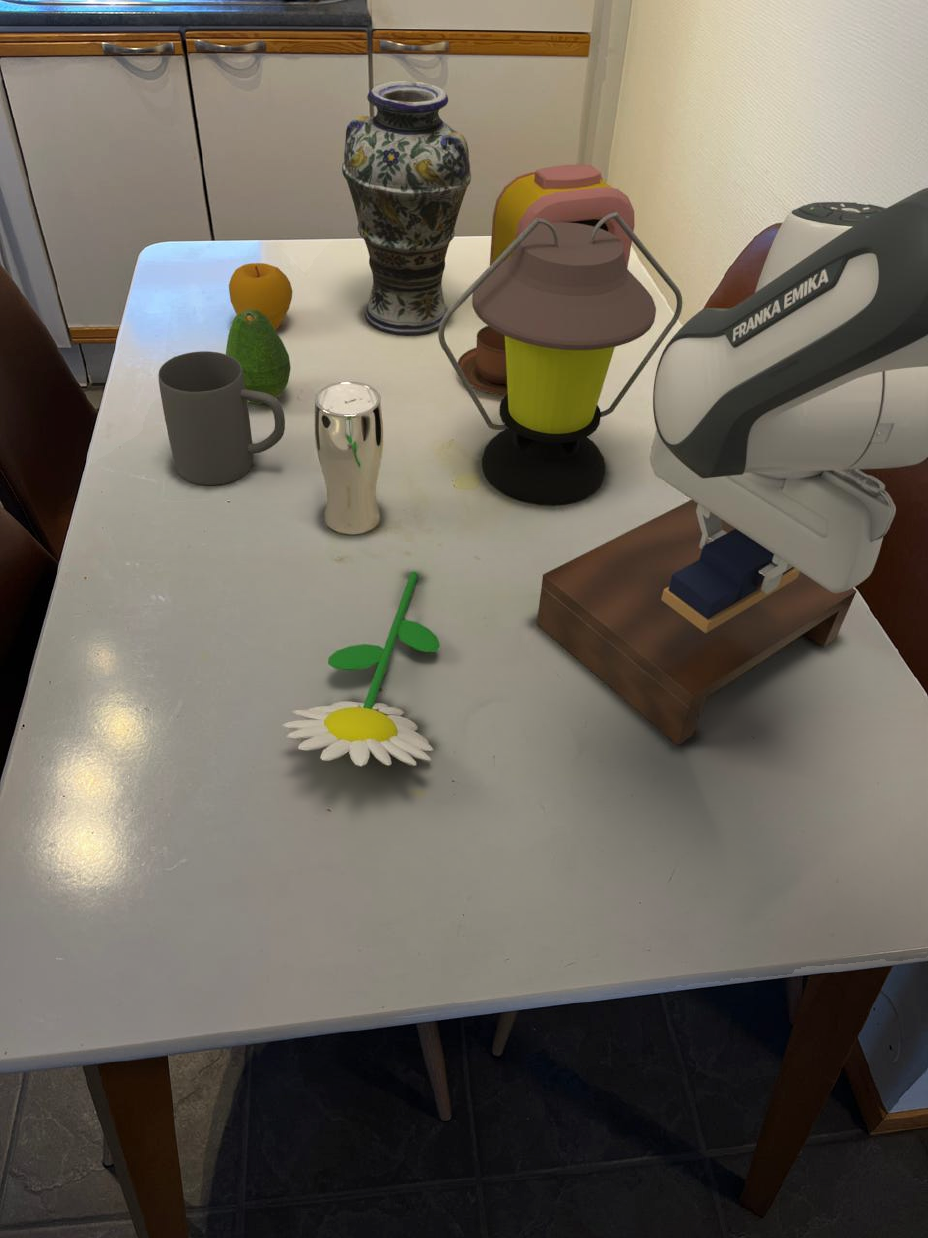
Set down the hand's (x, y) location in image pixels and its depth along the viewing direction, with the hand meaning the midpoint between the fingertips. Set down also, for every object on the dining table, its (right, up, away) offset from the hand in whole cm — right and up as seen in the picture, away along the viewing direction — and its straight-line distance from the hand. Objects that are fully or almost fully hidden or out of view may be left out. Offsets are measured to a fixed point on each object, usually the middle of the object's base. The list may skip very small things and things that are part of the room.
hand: (736, 567), depth 81 cm
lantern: (-13, +13, +34) cm, 39 cm away
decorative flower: (-30, -10, +8) cm, 33 cm away
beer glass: (-35, +7, +25) cm, 44 cm away
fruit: (-49, +23, +42) cm, 69 cm away
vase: (-31, +40, +61) cm, 79 cm away
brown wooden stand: (-1, -6, +15) cm, 16 cm away
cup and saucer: (-18, +28, +49) cm, 59 cm away
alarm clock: (-9, +43, +66) cm, 79 cm away
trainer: (0, -2, +2) cm, 2 cm away
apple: (-51, +37, +56) cm, 85 cm away
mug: (-50, +13, +31) cm, 60 cm away
